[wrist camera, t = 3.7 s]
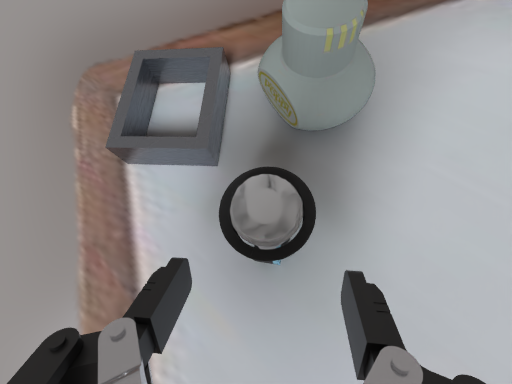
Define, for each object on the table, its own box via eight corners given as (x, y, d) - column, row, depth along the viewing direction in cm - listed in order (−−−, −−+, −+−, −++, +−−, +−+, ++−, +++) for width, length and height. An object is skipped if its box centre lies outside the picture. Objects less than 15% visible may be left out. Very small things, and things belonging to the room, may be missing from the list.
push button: (251, 191, 24) (229, 134, 14) (307, 197, 23) (323, 141, 14) (239, 262, 22) (204, 250, 12) (301, 272, 21) (313, 267, 11)
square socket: (230, 73, 29) (223, 47, 26) (217, 165, 25) (207, 148, 22) (151, 75, 30) (135, 50, 27) (127, 163, 26) (105, 147, 23)
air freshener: (251, 84, 28) (235, -14, 19) (312, 50, 29) (326, -62, 19) (308, 156, 24) (322, 79, 15) (376, 114, 25) (431, 16, 16)
